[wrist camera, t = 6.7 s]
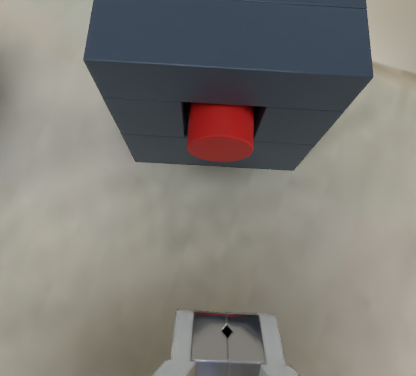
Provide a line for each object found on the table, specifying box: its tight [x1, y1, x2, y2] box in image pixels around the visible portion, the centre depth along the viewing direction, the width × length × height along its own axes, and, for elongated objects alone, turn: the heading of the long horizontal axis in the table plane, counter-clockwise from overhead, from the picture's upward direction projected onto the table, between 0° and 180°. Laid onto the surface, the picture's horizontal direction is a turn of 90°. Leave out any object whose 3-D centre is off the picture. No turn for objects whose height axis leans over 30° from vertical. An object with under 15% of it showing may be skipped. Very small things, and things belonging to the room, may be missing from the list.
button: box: [187, 102, 254, 162], centre depth 18 cm, size 3×4×4 cm
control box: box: [83, 0, 373, 170], centre depth 20 cm, size 7×12×12 cm, turn 87°
